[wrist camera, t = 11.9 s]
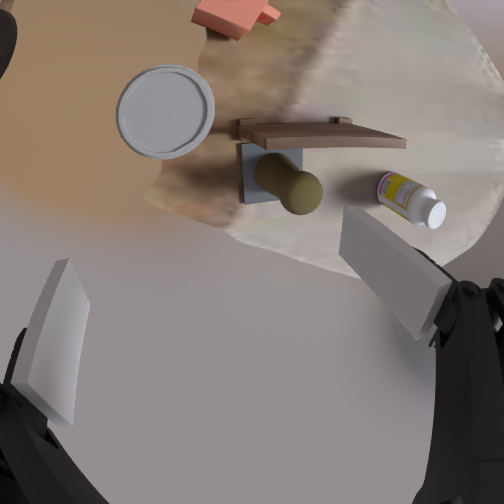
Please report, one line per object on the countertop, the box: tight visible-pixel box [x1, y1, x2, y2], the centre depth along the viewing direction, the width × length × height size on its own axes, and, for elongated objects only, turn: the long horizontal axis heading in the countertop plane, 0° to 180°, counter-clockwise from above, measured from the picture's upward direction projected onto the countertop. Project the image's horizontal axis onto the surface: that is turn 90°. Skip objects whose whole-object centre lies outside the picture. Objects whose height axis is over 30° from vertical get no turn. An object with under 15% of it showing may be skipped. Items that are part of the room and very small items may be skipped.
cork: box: [254, 152, 323, 215], centre depth 36 cm, size 6×6×11 cm
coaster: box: [241, 143, 303, 205], centre depth 40 cm, size 9×9×1 cm
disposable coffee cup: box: [116, 64, 215, 160], centre depth 27 cm, size 10×10×12 cm
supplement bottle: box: [377, 172, 446, 229], centre depth 42 cm, size 7×7×13 cm
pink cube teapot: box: [191, 0, 281, 41], centre depth 23 cm, size 8×12×8 cm, turn 64°
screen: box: [236, 117, 406, 151], centre depth 33 cm, size 3×18×13 cm, turn 92°
